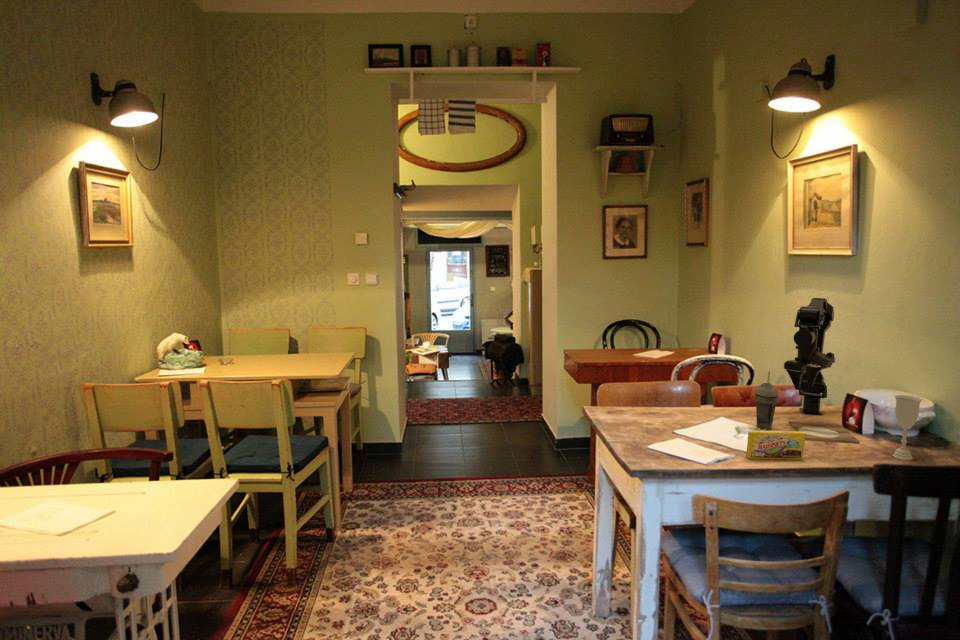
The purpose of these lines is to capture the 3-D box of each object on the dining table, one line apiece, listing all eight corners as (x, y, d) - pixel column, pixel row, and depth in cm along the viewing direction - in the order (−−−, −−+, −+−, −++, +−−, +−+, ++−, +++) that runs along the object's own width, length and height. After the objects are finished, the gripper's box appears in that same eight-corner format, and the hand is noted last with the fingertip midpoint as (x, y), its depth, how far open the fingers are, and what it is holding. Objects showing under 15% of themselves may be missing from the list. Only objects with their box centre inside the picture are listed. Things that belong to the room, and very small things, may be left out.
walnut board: (788, 422, 229) (788, 419, 229) (838, 425, 226) (838, 422, 226) (805, 439, 209) (805, 436, 209) (859, 443, 206) (859, 440, 206)
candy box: (748, 459, 191) (750, 432, 189) (745, 457, 193) (747, 430, 192) (803, 460, 191) (806, 432, 190) (800, 457, 193) (802, 430, 192)
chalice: (887, 451, 199) (893, 394, 196) (914, 455, 196) (920, 396, 194) (890, 458, 192) (896, 399, 190) (918, 462, 189) (924, 402, 187)
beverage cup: (771, 425, 225) (775, 368, 223) (779, 431, 218) (783, 373, 215) (749, 424, 226) (753, 367, 223) (756, 430, 219) (760, 372, 216)
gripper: (817, 349, 212) (813, 396, 213) (844, 344, 223) (840, 389, 225) (784, 344, 220) (781, 389, 222) (812, 340, 232) (808, 383, 233)
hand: (804, 388), depth 225 cm, fingers open, 9 cm apart
